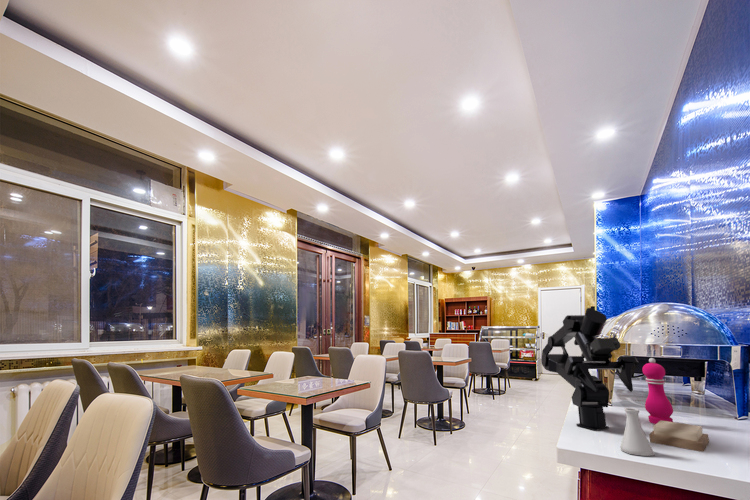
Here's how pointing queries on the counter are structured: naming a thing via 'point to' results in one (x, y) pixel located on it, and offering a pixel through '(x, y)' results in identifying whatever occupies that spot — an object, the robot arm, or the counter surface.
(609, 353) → the robot arm
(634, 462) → the counter surface
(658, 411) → the pepper mill
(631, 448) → the flask
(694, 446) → the tower base
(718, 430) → the counter surface
